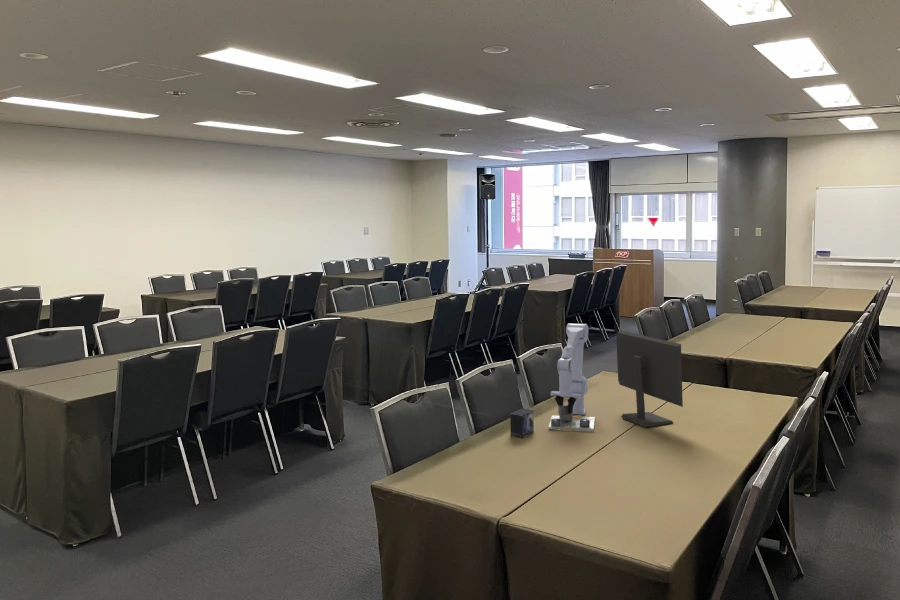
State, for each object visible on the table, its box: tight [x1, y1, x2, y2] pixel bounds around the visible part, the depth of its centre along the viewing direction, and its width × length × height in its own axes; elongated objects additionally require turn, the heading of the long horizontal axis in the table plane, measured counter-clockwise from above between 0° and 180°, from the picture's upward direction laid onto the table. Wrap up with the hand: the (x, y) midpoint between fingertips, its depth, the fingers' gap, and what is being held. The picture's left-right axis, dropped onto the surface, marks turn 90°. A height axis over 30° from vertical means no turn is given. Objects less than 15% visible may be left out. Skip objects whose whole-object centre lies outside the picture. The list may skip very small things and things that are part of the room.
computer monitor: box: [616, 330, 684, 429], centre depth 313 cm, size 44×16×40 cm, turn 22°
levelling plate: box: [548, 414, 596, 433], centre depth 313 cm, size 18×20×4 cm
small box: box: [509, 407, 534, 439], centre depth 301 cm, size 11×6×10 cm, turn 143°
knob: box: [557, 403, 582, 421], centre depth 316 cm, size 6×12×7 cm, turn 116°
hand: (565, 412), depth 315 cm, fingers closed on knob, 4 cm apart
